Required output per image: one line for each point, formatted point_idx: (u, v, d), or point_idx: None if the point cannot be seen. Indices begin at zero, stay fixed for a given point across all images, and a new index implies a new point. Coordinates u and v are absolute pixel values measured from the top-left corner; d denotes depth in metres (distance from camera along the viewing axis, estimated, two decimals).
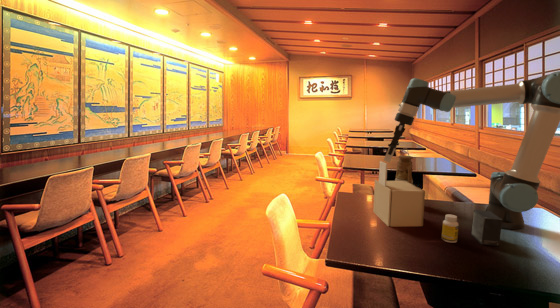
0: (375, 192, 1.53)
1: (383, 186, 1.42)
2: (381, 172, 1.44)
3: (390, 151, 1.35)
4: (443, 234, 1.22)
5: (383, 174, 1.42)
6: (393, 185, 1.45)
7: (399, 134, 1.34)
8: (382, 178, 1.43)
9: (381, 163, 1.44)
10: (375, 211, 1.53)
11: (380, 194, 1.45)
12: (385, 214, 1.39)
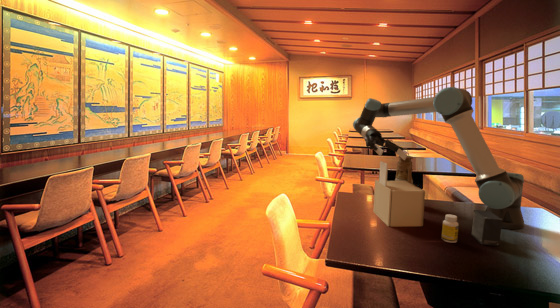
0: (375, 192, 1.53)
1: (383, 186, 1.42)
2: (381, 172, 1.44)
3: (373, 147, 1.47)
4: (443, 234, 1.22)
5: (383, 174, 1.42)
6: (393, 185, 1.45)
7: (367, 138, 1.53)
8: (383, 178, 1.43)
9: (381, 163, 1.44)
10: (375, 211, 1.53)
11: (381, 194, 1.45)
12: (385, 214, 1.39)
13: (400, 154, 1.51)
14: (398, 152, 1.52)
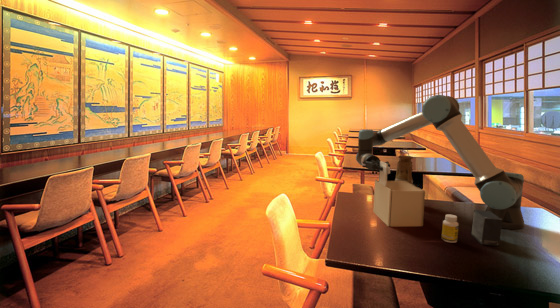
0: (375, 192, 1.53)
1: (383, 186, 1.42)
2: (381, 172, 1.44)
3: (379, 168, 1.42)
4: (443, 234, 1.22)
5: (383, 174, 1.42)
6: (393, 185, 1.45)
7: (367, 164, 1.50)
8: (383, 178, 1.43)
9: (381, 163, 1.44)
10: (375, 211, 1.53)
11: (381, 194, 1.45)
12: (385, 214, 1.39)
13: None
14: None
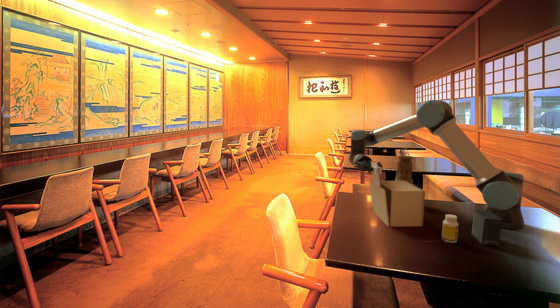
0: (372, 192, 1.53)
1: (377, 187, 1.42)
2: (374, 173, 1.44)
3: (369, 169, 1.42)
4: (443, 234, 1.22)
5: (376, 175, 1.42)
6: (393, 185, 1.45)
7: (358, 164, 1.50)
8: (376, 179, 1.43)
9: (372, 164, 1.44)
10: (375, 211, 1.53)
11: (377, 195, 1.45)
12: (384, 214, 1.39)
13: None
14: None
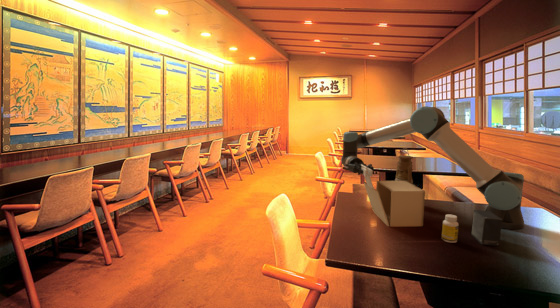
0: (368, 193, 1.53)
1: (371, 188, 1.42)
2: None
3: (359, 171, 1.42)
4: (443, 234, 1.22)
5: (367, 177, 1.42)
6: (393, 185, 1.45)
7: (349, 166, 1.50)
8: (368, 181, 1.43)
9: (362, 167, 1.44)
10: (374, 211, 1.53)
11: (372, 196, 1.45)
12: (382, 215, 1.39)
13: None
14: None
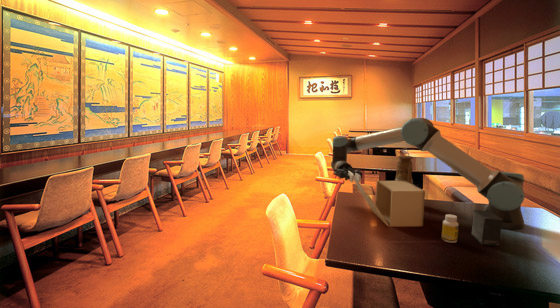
0: (363, 196, 1.53)
1: (363, 192, 1.42)
2: (355, 181, 1.44)
3: (346, 177, 1.42)
4: (443, 234, 1.22)
5: (357, 183, 1.42)
6: (393, 185, 1.45)
7: (337, 172, 1.50)
8: (358, 186, 1.43)
9: None
10: (374, 212, 1.53)
11: (367, 199, 1.45)
12: (380, 216, 1.39)
13: (356, 178, 1.41)
14: None
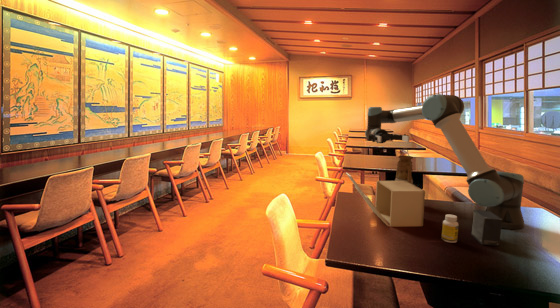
0: None
1: (362, 193, 1.42)
2: (353, 182, 1.44)
3: (374, 138, 1.57)
4: (443, 234, 1.22)
5: (355, 184, 1.42)
6: (393, 185, 1.45)
7: None
8: (357, 187, 1.43)
9: (347, 175, 1.44)
10: (374, 212, 1.53)
11: (366, 199, 1.45)
12: (380, 216, 1.39)
13: (404, 139, 1.56)
14: (403, 138, 1.58)
